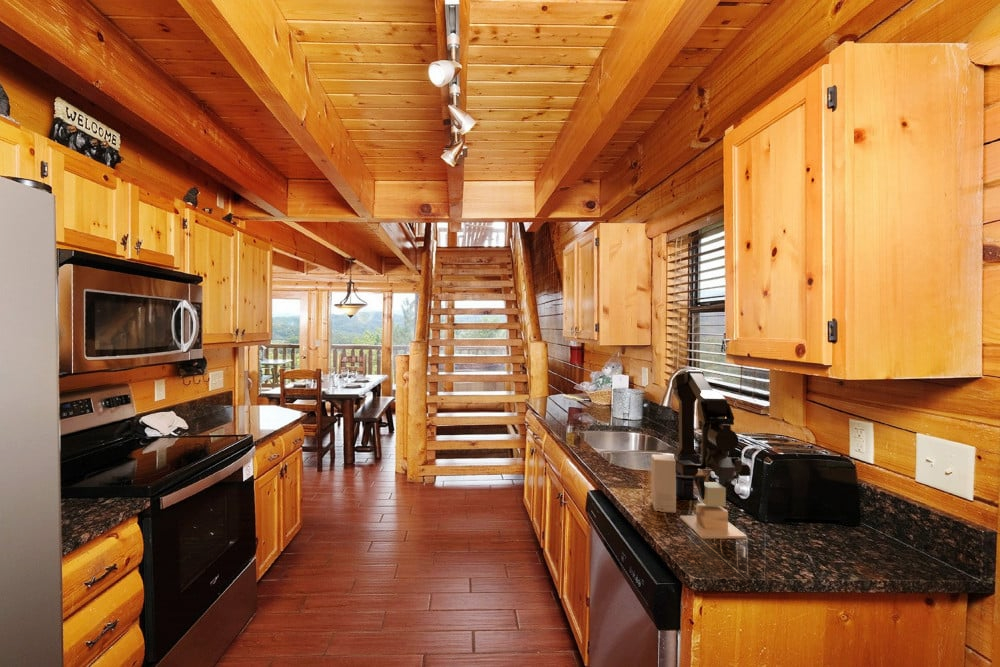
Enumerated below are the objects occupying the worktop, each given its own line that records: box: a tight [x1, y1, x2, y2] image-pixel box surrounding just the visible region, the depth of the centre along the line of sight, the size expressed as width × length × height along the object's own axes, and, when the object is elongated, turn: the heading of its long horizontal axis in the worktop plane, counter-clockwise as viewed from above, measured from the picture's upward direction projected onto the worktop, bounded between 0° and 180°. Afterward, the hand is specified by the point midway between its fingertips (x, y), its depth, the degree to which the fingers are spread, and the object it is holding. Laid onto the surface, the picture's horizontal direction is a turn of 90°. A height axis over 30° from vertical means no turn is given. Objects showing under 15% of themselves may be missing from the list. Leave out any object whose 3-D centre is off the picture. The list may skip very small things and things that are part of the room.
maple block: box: [695, 502, 729, 530], centre depth 132 cm, size 6×6×5 cm
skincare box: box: [650, 454, 677, 514], centre depth 147 cm, size 8×7×16 cm
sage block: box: [698, 481, 727, 507], centre depth 132 cm, size 5×5×5 cm
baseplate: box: [679, 515, 748, 539], centre depth 132 cm, size 14×12×1 cm
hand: (711, 499), depth 132 cm, fingers closed on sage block, 5 cm apart
